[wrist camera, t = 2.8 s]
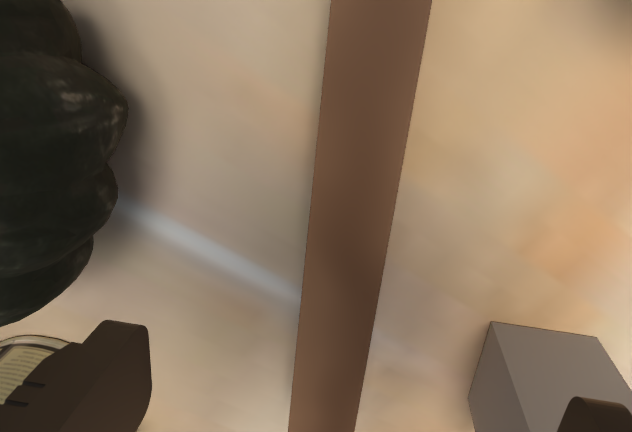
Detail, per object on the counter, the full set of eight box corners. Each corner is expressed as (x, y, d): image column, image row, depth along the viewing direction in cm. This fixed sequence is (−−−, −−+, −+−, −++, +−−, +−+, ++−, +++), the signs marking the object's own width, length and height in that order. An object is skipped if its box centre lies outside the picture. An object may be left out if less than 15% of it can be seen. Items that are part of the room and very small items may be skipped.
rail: (299, 387, 27) (285, 456, 23) (362, -196, 16) (357, -263, 12) (352, 396, 27) (347, 466, 23) (452, -189, 16) (478, -254, 12)
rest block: (467, 397, 25) (497, 529, 19) (491, 321, 23) (533, 440, 17) (564, 413, 25) (626, 552, 19) (596, 337, 23) (679, 465, 17)
